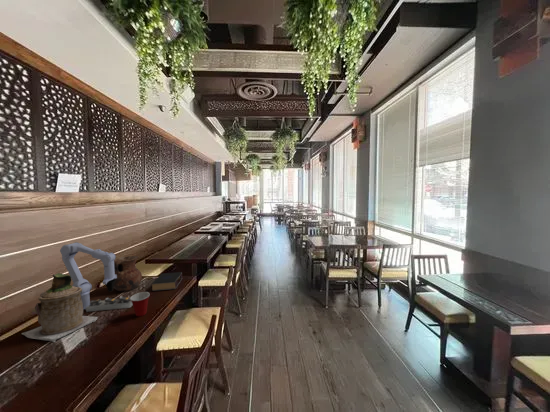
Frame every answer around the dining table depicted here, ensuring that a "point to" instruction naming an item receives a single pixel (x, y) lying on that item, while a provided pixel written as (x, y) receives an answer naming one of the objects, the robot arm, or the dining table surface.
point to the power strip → (109, 305)
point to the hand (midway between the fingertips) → (110, 291)
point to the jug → (126, 273)
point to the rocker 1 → (95, 301)
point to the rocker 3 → (123, 298)
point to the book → (167, 281)
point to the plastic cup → (140, 303)
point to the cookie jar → (59, 311)
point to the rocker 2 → (109, 300)
